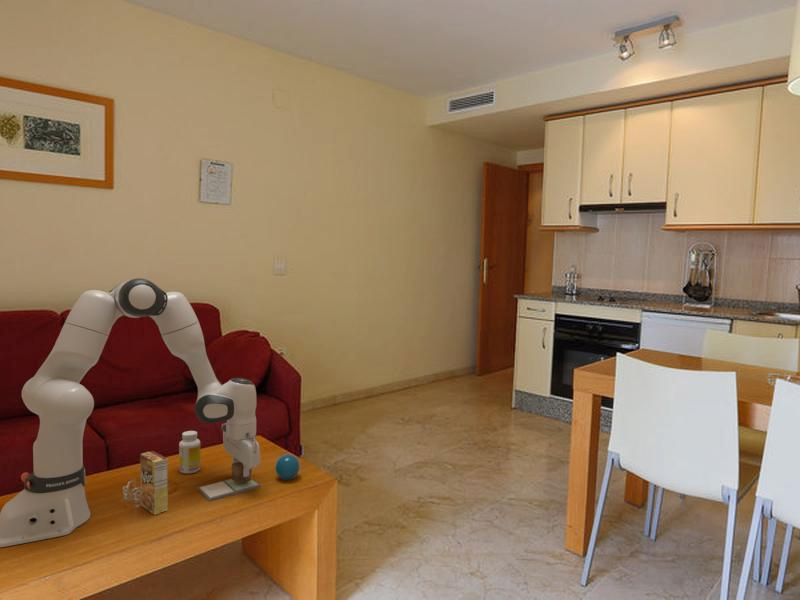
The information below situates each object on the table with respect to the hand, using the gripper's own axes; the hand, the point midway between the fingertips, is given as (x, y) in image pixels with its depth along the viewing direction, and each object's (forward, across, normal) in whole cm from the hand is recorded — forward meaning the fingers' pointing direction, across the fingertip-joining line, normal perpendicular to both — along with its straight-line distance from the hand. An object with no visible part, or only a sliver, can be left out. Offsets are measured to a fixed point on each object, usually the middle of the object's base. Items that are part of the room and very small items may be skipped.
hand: (241, 472), depth 169 cm
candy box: (+4, 0, +26) cm, 26 cm away
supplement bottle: (+4, +21, +9) cm, 23 cm away
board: (+4, 0, +4) cm, 6 cm away
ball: (+4, -4, -14) cm, 15 cm away
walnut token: (+2, 0, 0) cm, 2 cm away
